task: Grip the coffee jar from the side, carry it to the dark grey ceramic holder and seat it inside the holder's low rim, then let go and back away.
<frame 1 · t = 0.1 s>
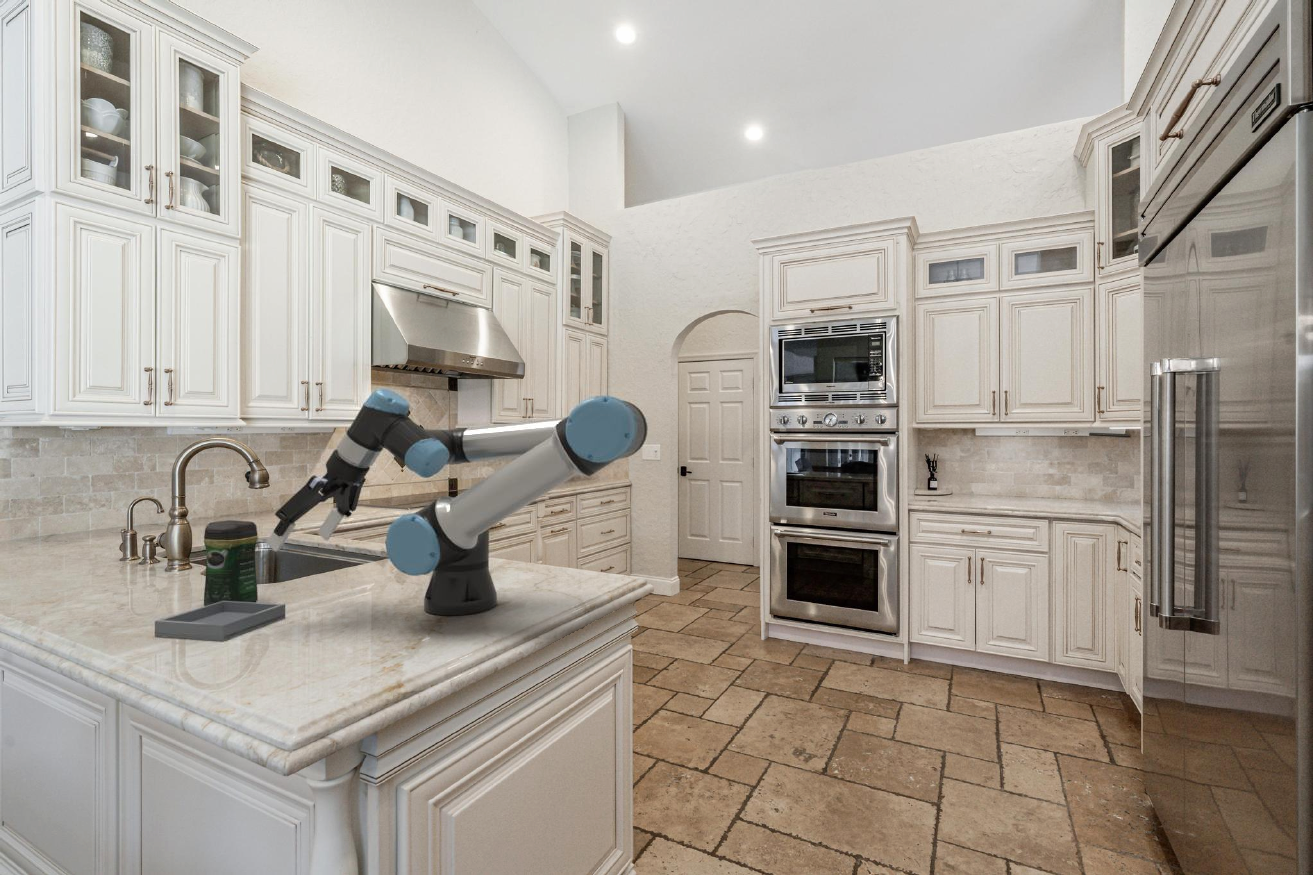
hand: (298, 541, 127), 15 cm above the counter, tool tilted 35°, fingers open, 13 cm apart
holder: (223, 626, 120), on the counter
coffee jar: (231, 606, 135), on the counter
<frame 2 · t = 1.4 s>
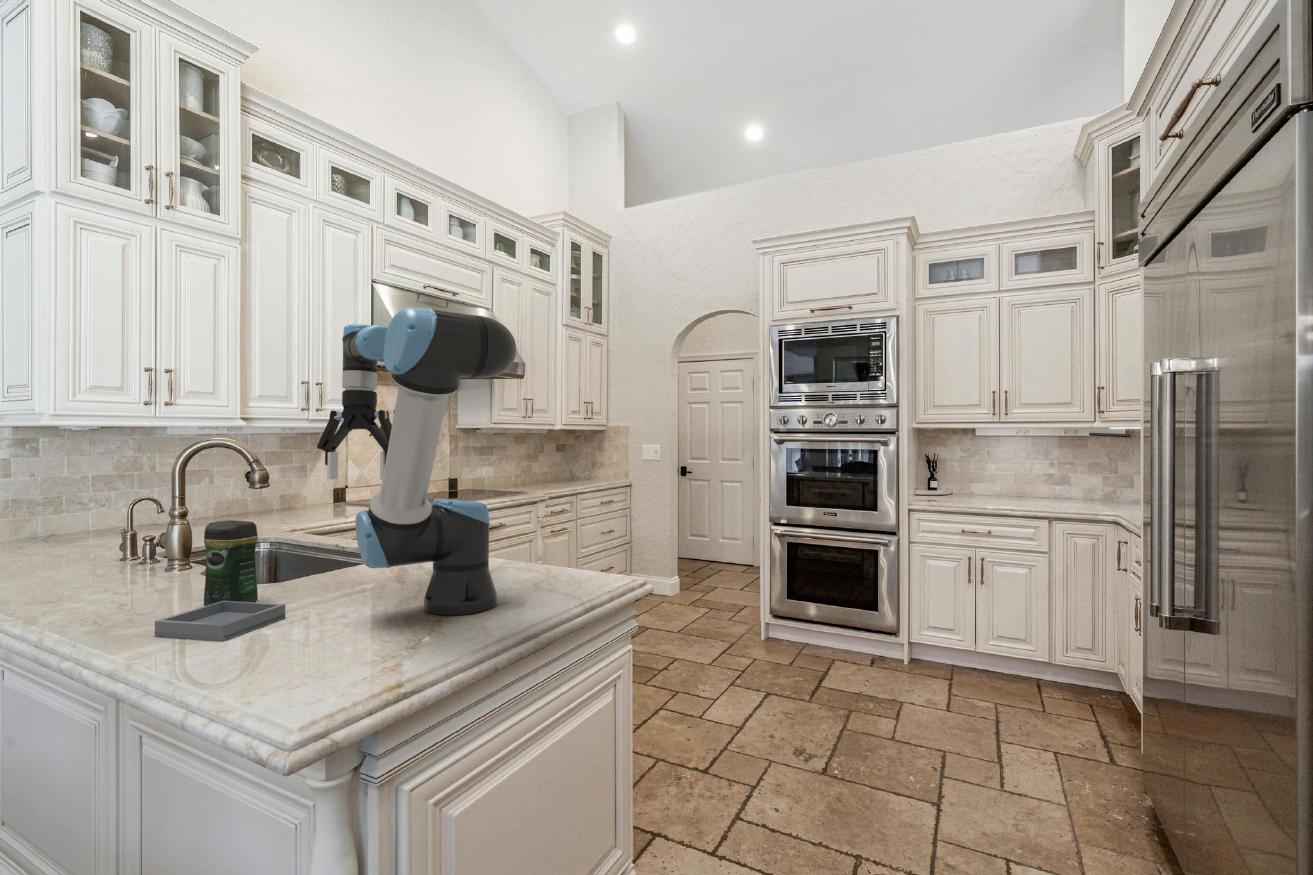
hand: (358, 479, 147), 27 cm above the counter, tool pointing down, fingers open, 13 cm apart
nothing on the counter moved.
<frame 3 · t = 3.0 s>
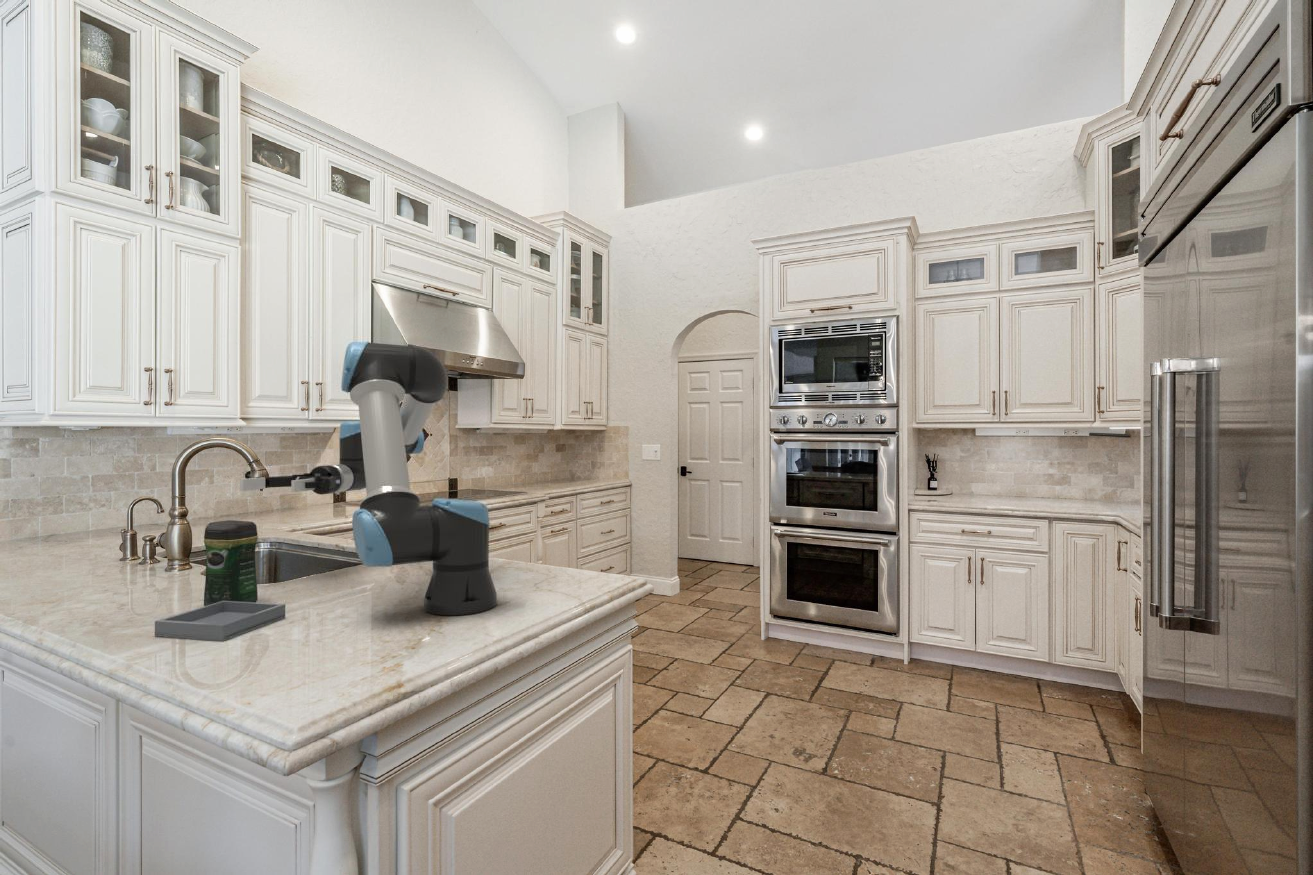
hand: (266, 485, 144), 25 cm above the counter, tool horizontal, fingers open, 13 cm apart
nothing on the counter moved.
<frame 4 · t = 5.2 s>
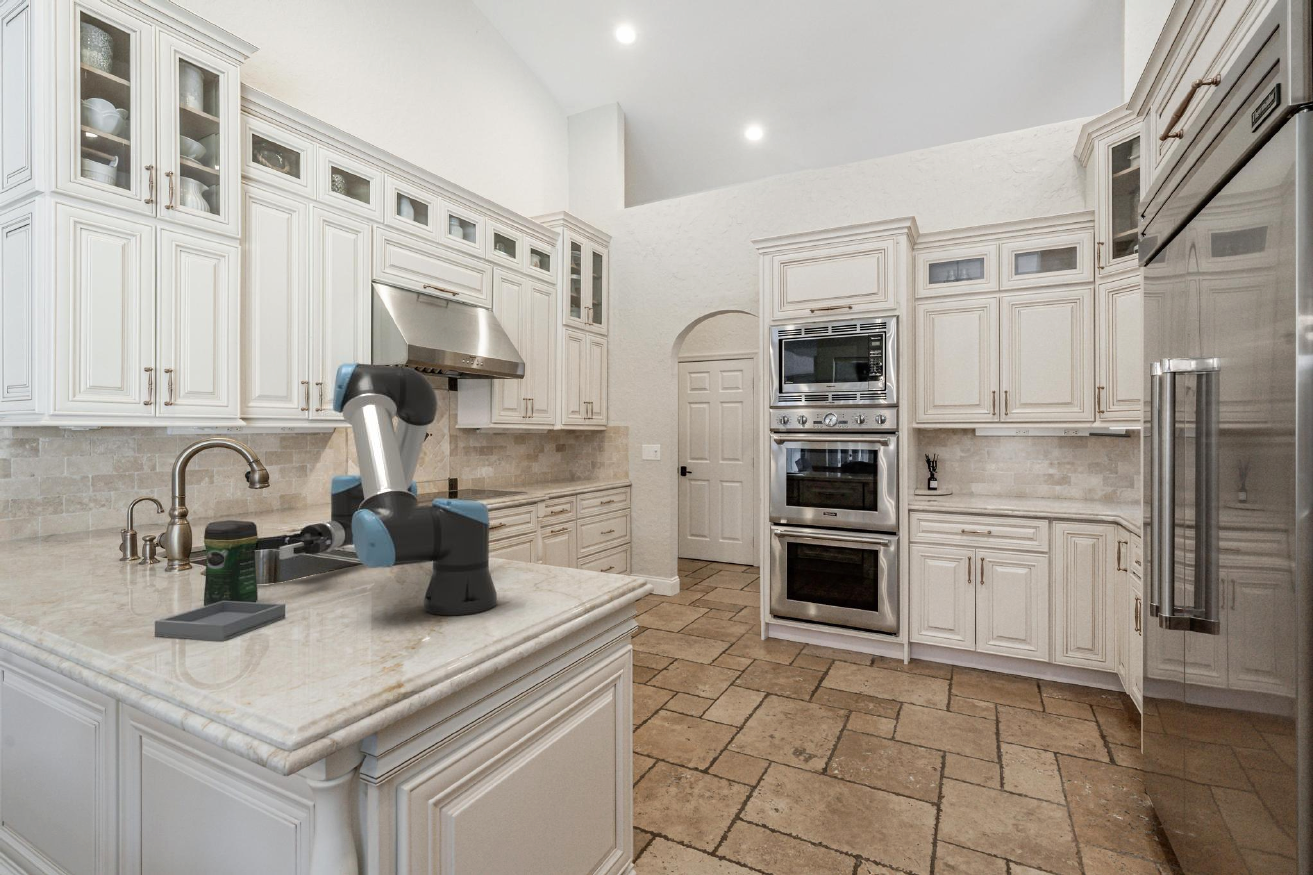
hand: (254, 552, 141), 10 cm above the counter, tool horizontal, fingers open, 13 cm apart
nothing on the counter moved.
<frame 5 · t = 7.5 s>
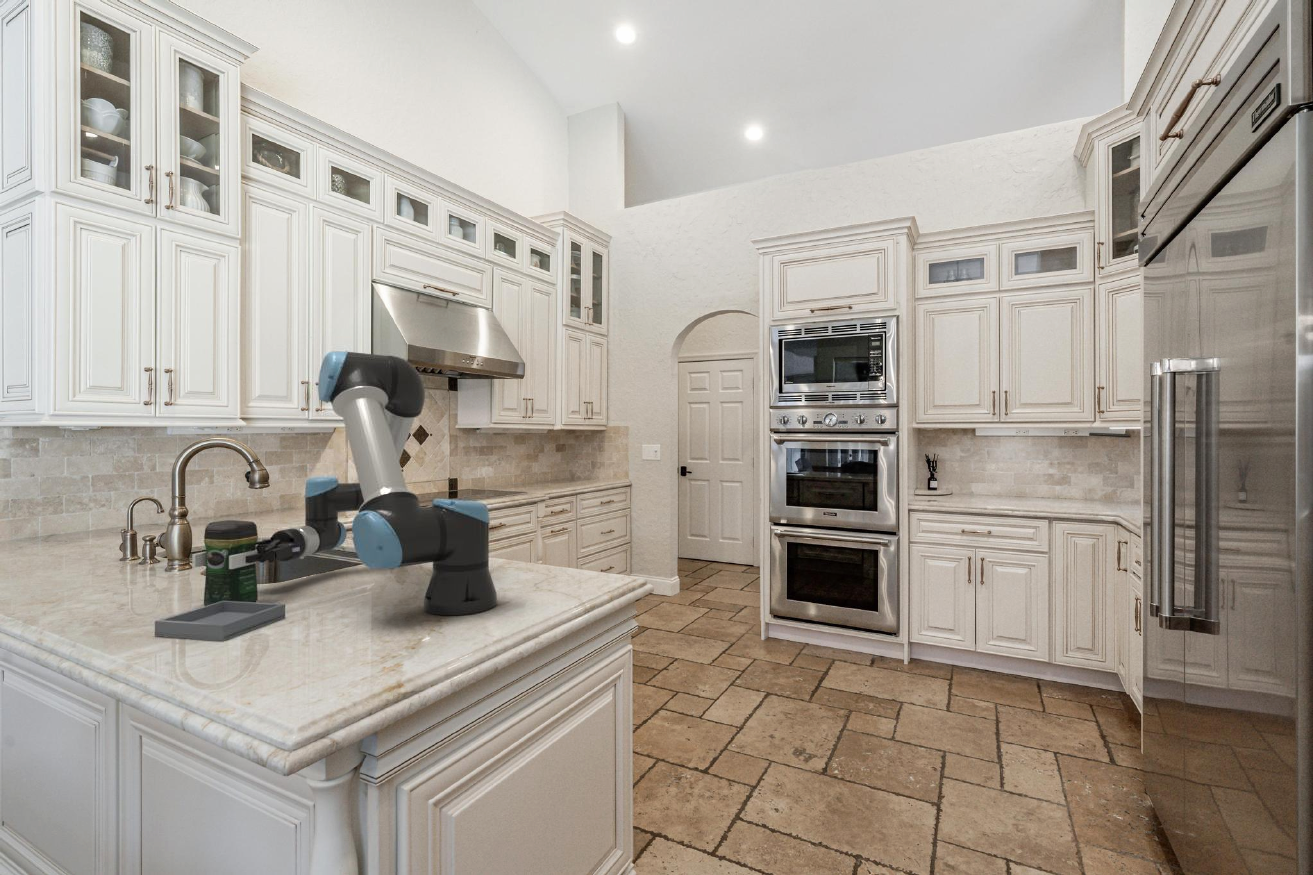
hand: (212, 561, 130), 11 cm above the counter, tool horizontal, fingers closed on coffee jar, 8 cm apart
coffee jar: (231, 606, 135), on the counter, touching gripper
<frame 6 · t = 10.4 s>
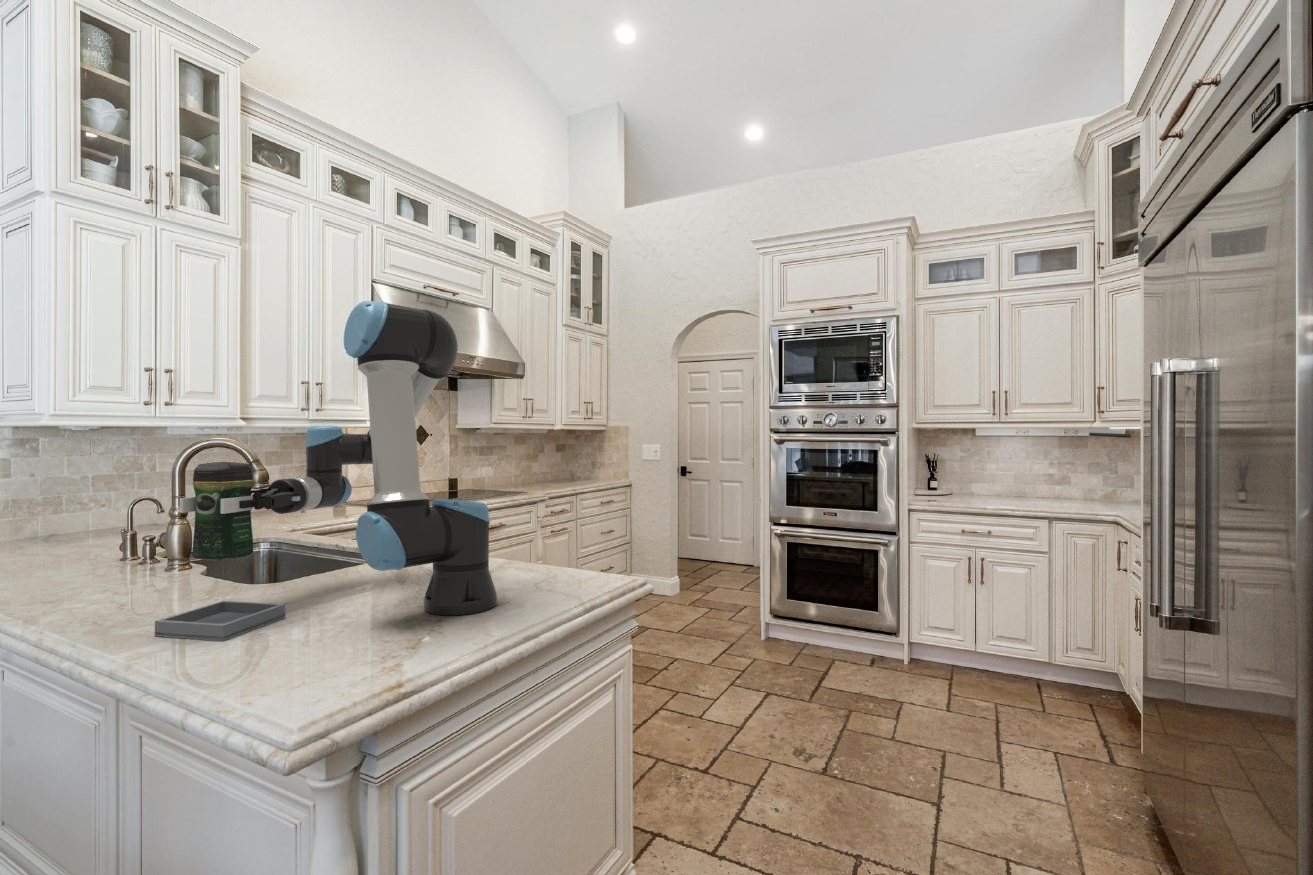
hand: (201, 505, 116), 24 cm above the counter, tool horizontal, fingers closed on coffee jar, 8 cm apart
coffee jar: (223, 558, 120), point 13 cm above the counter, touching gripper
when the fingers open (12 cm above the counter, at t = 13.2 s): coffee jar moves 2 cm, resting on holder.
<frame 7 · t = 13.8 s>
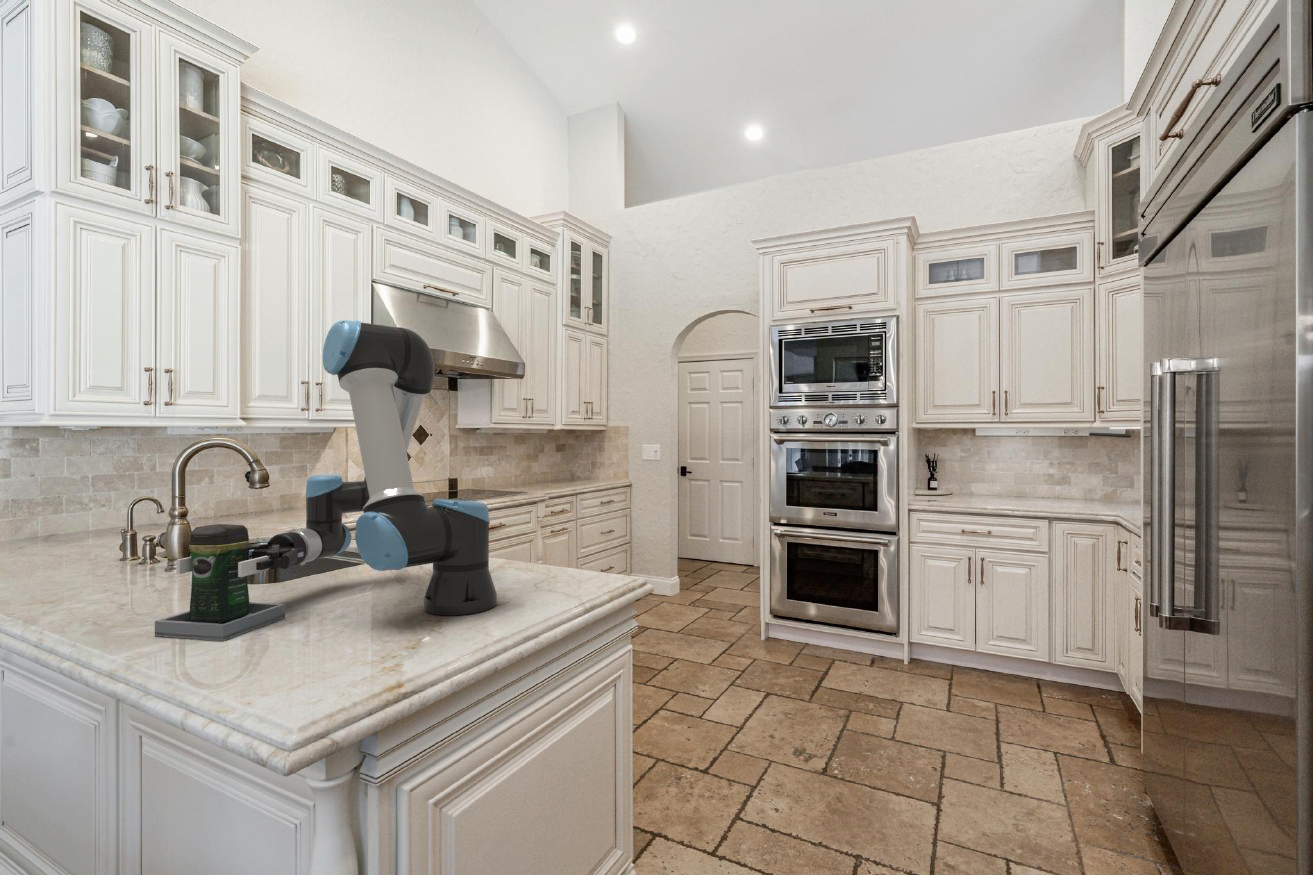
hand: (208, 568, 117), 12 cm above the counter, tool horizontal, fingers open, 13 cm apart
coffee jar: (220, 620, 121), point 1 cm above the counter, touching gripper, holder
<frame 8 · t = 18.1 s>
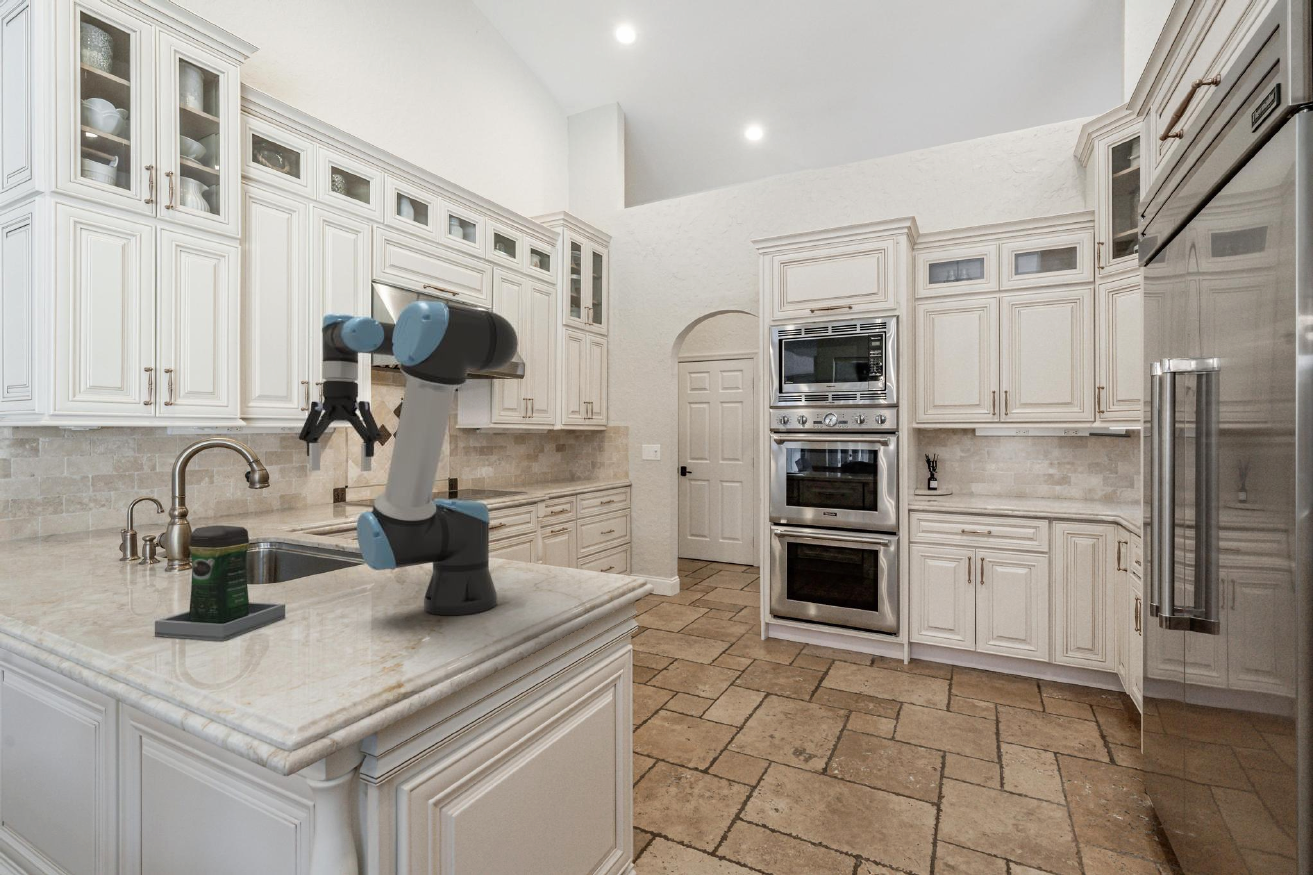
hand: (340, 470, 147), 29 cm above the counter, tool pointing down, fingers open, 13 cm apart
coffee jar: (219, 621, 121), point 1 cm above the counter, touching holder
at the end: coffee jar inside the target area on the holder (2.1 cm from its centre), point 0.6 cm above the holder's base; coffee jar tilted 0°; the gripper is holding nothing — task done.
